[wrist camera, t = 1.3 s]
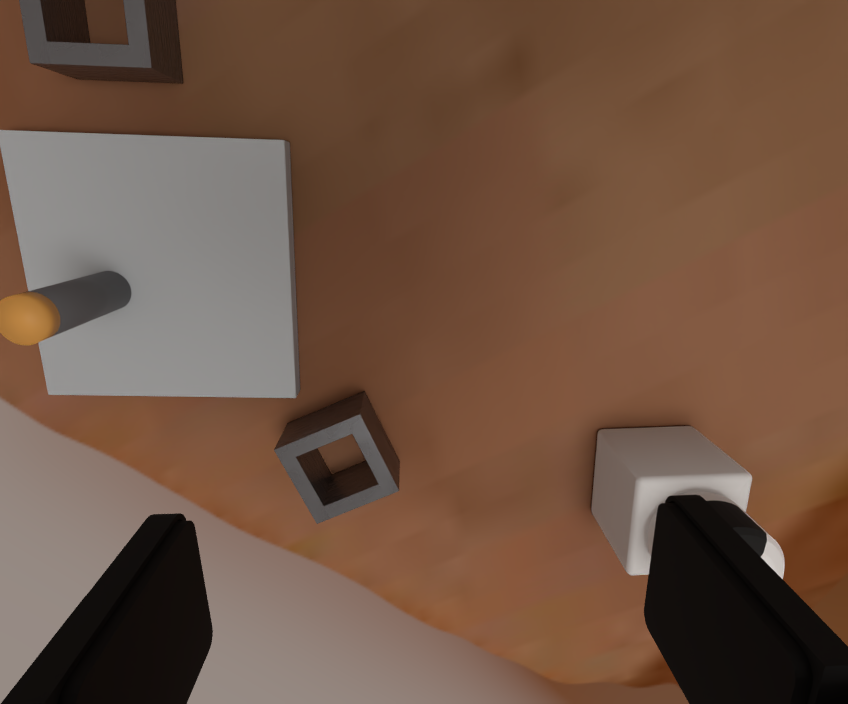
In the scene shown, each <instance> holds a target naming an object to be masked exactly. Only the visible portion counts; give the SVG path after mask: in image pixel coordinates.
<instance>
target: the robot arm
mask: <svg viewBox="0 0 848 704" xmlns="http://www.w3.org/2000/svg"><path fill="white" fill-rule="evenodd" d="M204 583H205V582H204V577H203V571H202V565H201V560H200V554H199V548H198V542H197V536H196V530H195V526H194V524H193V522H192V521H186V518H185V517H184V515H183V514H154V515H150V516H149V517H148V518H147V519H146V520H145V522H144V523H143V524H142V525H141V527H140V528H139V529H138V531H137V532H136V533H135V534H134V536H133V537H132V538H131V539H130V541H129V542H128V543H127V545H126V546H125V547H124V548H123V550H122V551H121V552H120V553H119V555H118V556H117V557H116V559H115V560H114V561H113V562H112V564H111V565H110V566H109V568H108V569H107V570H106V571H105V573H104V574H103V575H102V576H101V578H100V579H99V580H98V581H97V583H96V584H95V585H94V587H93V588H92V589H91V590H90V592H89V593H88V594H87V595H86V596H85V597H84V599H83V600H82V601H81V602H80V604H79V605H78V606H77V607H76V609H75V610H74V611H73V613H72V614H71V615H70V616H69V618H68V619H67V620H66V621H65V623H64V624H63V625H62V627H61V628H60V629H59V630H58V632H57V633H56V634H55V635H54V637H53V638H52V639H51V641H50V642H49V643H48V644H47V646H46V647H45V648H44V649H43V651H42V652H41V653H40V655H39V656H38V657H37V658H36V660H35V661H34V662H33V663H32V665H31V666H30V667H29V668H28V670H27V671H26V672H25V674H24V675H23V676H22V678H21V679H20V680H19V681H18V683H17V684H16V685H15V686H14V688H13V689H12V690H11V691H10V693H9V694H8V695H7V697H6V698H5V699H4V700H3V702H2V703H1V704H187V701H188V699H189V697H190V694H191V692H192V689H193V687H194V685H195V682H196V680H197V678H198V675H199V673H200V671H201V668H202V666H203V663H204V661H205V659H206V656H207V654H208V652H209V649H210V646H211V642H212V632H213V631H212V623H211V618H210V611H209V606H208V600H207V594H206V588H205V584H204ZM644 616H645V622H646V625H647V628H648V630H649V632H650V634H651V635H652V637H653V639H654V641H655V643H656V644H657V646H658V648H659V650H660V652H661V653H662V655H663V657H664V659H665V661H666V662H667V664H668V666H669V668H670V670H671V671H672V673H673V675H674V677H675V679H676V680H677V682H678V684H679V686H680V688H681V689H682V691H683V693H684V695H685V697H686V698H687V700H688V702H689V704H848V646H847V645H846V644H845V643H844V642H843V641H842V640H841V639H840V638H839V637H838V636H837V635H836V634H835V633H834V632H833V631H832V630H831V629H830V628H829V627H828V626H827V625H826V624H825V623H824V622H823V621H822V620H821V618H819V616H818V615H817V614H816V613H815V612H814V611H813V610H812V609H811V608H810V607H809V606H808V605H807V604H806V603H805V602H804V601H803V600H802V599H801V598H800V597H799V596H798V595H797V594H796V593H795V592H794V591H793V590H792V589H791V588H790V587H789V586H788V585H787V584H786V582H785V581H784V580H783V579H782V578H781V577H780V576H779V575H778V574H777V573H776V572H775V571H774V570H773V569H772V568H771V567H770V566H769V565H768V564H767V563H766V562H765V561H764V560H763V559H762V558H761V557H760V556H759V555H758V554H757V553H756V552H755V551H754V550H753V549H752V548H751V547H750V545H749V544H748V543H747V542H746V541H745V540H744V539H743V538H742V537H741V536H740V535H739V534H738V533H737V532H736V531H735V530H734V529H733V528H732V527H731V526H730V525H729V524H728V523H727V522H726V521H725V520H724V519H723V518H722V517H721V516H720V515H719V514H718V513H717V512H716V511H715V510H714V509H713V507H712V506H711V505H710V504H709V503H708V502H707V501H706V500H705V499H704V498H703V497H701V496H700V495H672V496H669V497H667V499H666V501H665V503H661V504H659V506H658V509H657V516H656V523H655V531H654V538H653V546H652V553H651V561H650V569H649V576H648V584H647V591H646V599H645V606H644Z"/></svg>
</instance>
